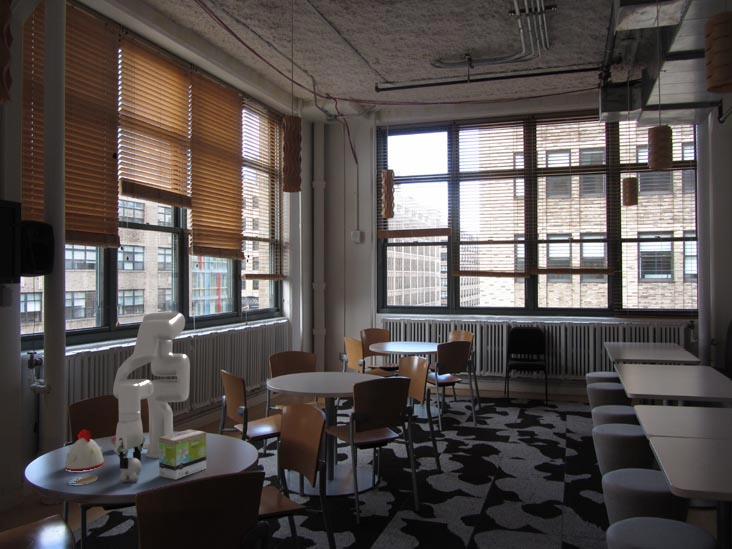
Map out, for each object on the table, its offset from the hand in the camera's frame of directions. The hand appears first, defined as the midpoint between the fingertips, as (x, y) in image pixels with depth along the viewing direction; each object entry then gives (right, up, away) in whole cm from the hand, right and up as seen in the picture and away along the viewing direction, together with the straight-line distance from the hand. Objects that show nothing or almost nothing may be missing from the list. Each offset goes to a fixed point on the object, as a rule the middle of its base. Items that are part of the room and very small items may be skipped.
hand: (130, 465), depth 219 cm
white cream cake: (-26, -7, +19) cm, 33 cm away
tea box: (+17, -6, +9) cm, 20 cm away
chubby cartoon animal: (0, -6, +1) cm, 6 cm away
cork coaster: (-18, -6, +2) cm, 19 cm away
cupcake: (-21, -7, +42) cm, 48 cm away
